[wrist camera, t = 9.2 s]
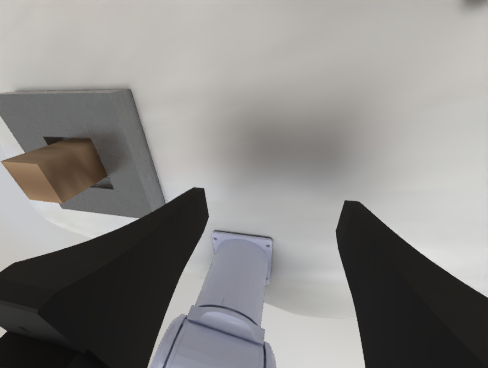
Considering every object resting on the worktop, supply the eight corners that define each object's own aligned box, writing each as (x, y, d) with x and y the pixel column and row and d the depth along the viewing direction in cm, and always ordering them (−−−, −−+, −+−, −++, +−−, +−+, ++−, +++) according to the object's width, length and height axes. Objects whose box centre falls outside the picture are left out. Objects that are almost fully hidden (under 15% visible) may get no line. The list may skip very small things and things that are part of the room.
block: (119, 168, 24) (62, 203, 18) (91, 167, 24) (29, 199, 19) (105, 136, 22) (37, 164, 16) (76, 135, 22) (0, 161, 16)
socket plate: (166, 207, 25) (155, 220, 23) (79, 197, 28) (62, 208, 26) (130, 89, 18) (109, 92, 16) (16, 91, 21) (-14, 94, 19)
